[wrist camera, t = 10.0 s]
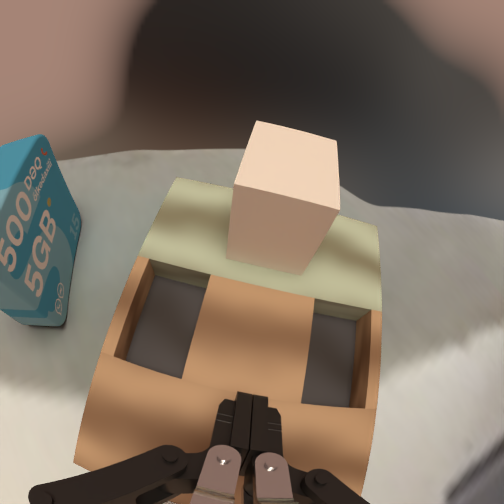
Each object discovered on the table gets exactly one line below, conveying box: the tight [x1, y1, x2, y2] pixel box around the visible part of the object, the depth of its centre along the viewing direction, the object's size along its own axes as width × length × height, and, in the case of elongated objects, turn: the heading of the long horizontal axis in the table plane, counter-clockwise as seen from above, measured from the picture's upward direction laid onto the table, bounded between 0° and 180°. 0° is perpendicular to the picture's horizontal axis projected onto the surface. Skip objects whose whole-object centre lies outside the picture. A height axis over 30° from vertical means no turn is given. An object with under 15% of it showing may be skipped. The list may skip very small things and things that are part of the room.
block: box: [226, 121, 340, 276], centre depth 20 cm, size 7×6×8 cm
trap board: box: [73, 177, 382, 504], centre depth 20 cm, size 26×20×3 cm
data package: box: [0, 134, 81, 326], centre depth 17 cm, size 12×4×12 cm, turn 8°
